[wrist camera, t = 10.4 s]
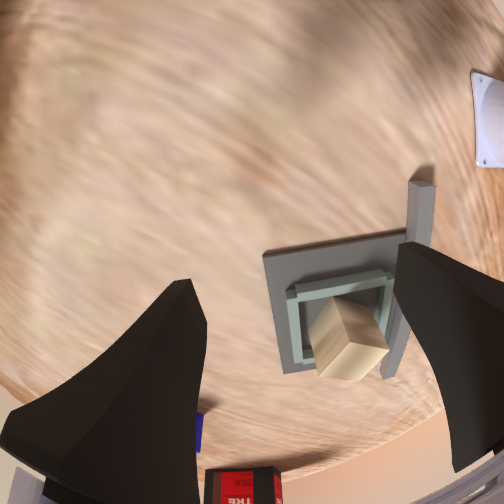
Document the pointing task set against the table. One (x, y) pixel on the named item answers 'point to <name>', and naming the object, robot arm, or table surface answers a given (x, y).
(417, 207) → the rail
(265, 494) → the cleaning product box
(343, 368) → the block
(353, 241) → the keeper cradle
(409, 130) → the table surface
